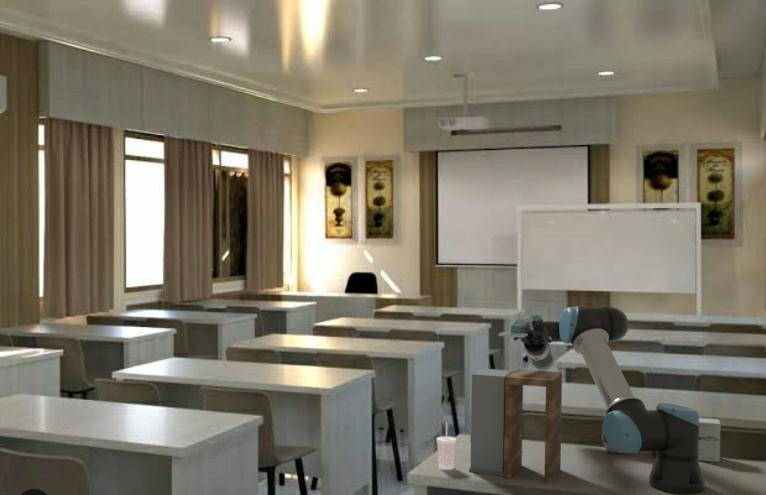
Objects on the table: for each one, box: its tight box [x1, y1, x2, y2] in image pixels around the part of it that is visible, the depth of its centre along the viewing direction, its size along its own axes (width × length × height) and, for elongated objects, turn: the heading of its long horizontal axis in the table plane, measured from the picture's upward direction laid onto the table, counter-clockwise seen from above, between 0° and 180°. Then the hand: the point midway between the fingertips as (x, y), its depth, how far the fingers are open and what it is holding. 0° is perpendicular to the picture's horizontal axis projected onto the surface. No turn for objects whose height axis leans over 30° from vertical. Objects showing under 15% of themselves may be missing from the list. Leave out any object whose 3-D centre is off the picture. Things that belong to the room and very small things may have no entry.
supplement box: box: [698, 417, 722, 463], centre depth 282 cm, size 7×7×13 cm
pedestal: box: [468, 368, 514, 476], centre depth 268 cm, size 11×13×30 cm
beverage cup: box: [436, 422, 457, 471], centre depth 268 cm, size 6×6×14 cm
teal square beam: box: [497, 319, 531, 338], centre depth 280 cm, size 8×26×3 cm, turn 158°
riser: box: [503, 368, 563, 484], centre depth 262 cm, size 14×16×30 cm
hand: (523, 317), depth 284 cm, fingers closed on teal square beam, 3 cm apart
